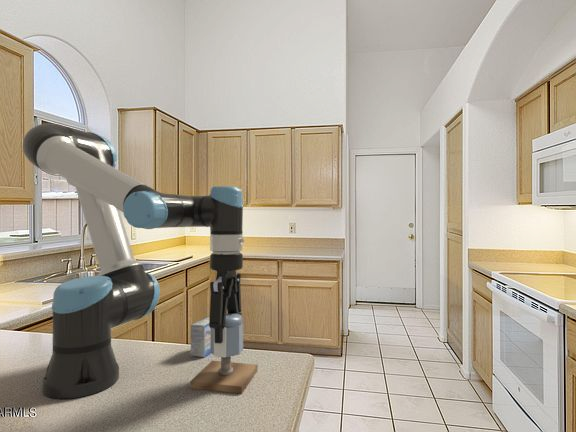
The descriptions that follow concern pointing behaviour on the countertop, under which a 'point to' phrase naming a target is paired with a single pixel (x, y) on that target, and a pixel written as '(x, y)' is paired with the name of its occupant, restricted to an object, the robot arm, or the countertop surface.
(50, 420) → the countertop surface
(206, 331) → the medicine box
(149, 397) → the countertop surface
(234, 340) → the cap
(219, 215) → the robot arm
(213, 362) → the brown wooden square board
